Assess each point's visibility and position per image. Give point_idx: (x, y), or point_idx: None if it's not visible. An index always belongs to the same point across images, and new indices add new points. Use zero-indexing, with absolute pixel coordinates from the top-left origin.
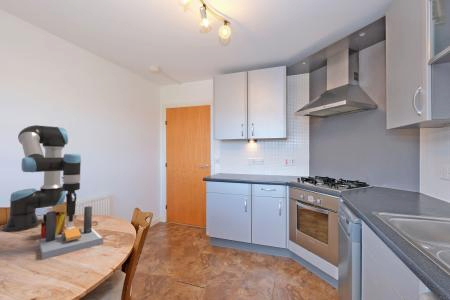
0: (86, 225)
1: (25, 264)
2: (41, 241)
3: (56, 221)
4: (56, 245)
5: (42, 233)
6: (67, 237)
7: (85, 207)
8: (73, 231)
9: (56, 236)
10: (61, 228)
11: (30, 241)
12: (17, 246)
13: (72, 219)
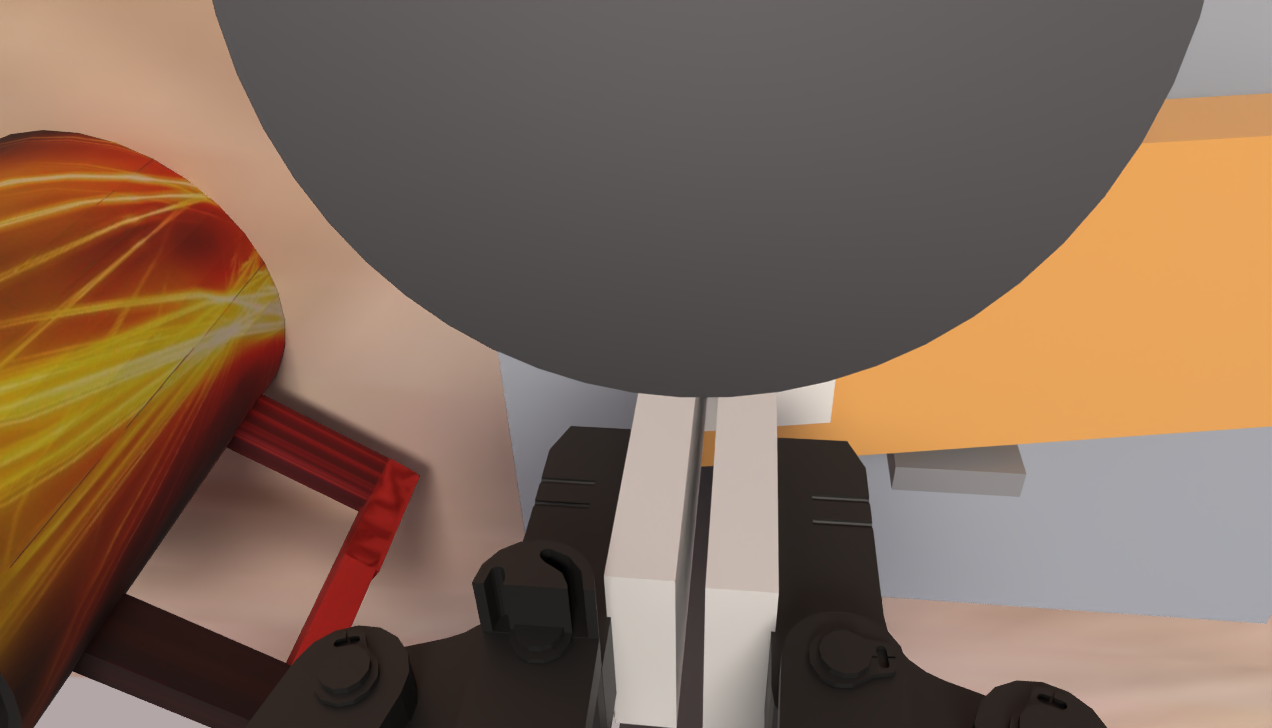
0: None
1: (1181, 653)
2: None
3: (88, 514)
4: (1128, 466)
5: (379, 566)
6: (1257, 409)
7: (722, 319)
8: (1045, 281)
9: (559, 389)
10: (128, 283)
11: (296, 536)
12: (423, 634)
13: (863, 503)
